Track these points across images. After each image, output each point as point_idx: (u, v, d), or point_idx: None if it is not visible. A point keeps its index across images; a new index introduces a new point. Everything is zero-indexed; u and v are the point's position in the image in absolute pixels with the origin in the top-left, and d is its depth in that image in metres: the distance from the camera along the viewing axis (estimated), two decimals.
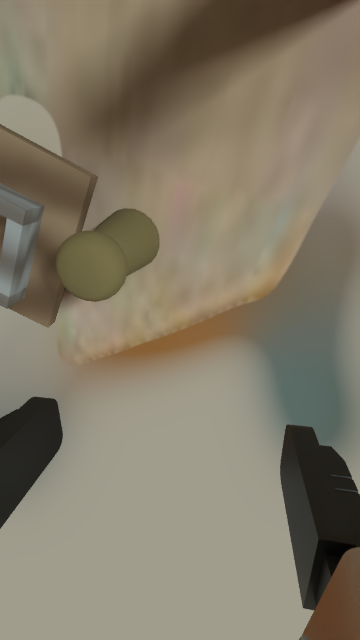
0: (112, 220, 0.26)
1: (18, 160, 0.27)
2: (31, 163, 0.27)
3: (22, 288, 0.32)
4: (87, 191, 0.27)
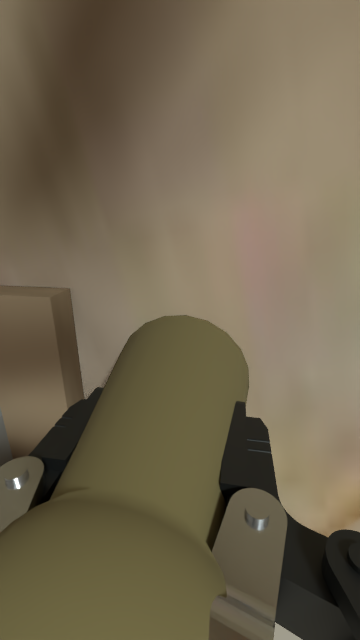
0: (122, 377, 0.09)
1: None
2: None
3: None
4: (57, 327, 0.12)
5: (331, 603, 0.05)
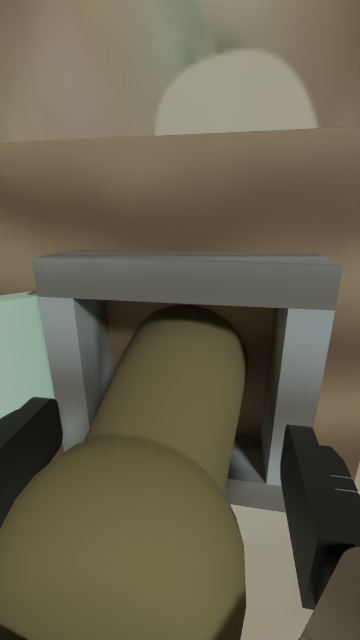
0: (137, 354, 0.11)
1: (243, 182, 0.12)
2: (275, 173, 0.12)
3: None
4: None
5: None
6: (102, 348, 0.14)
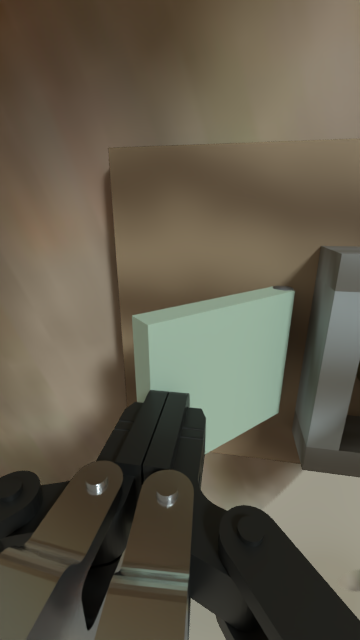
0: None
1: None
2: None
3: None
4: None
5: (219, 569, 0.06)
6: None
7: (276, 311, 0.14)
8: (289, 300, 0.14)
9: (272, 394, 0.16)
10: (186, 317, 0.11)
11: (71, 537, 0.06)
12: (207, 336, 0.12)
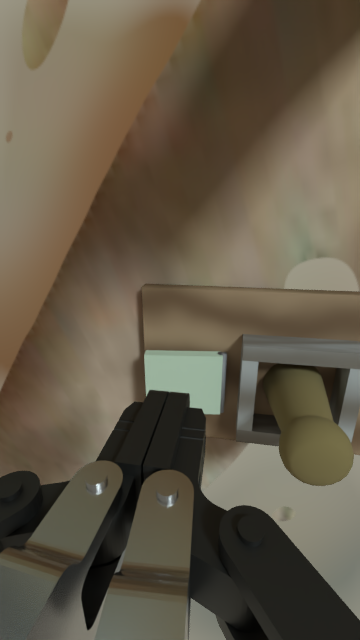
0: (288, 386, 0.27)
1: (327, 312, 0.28)
2: (342, 309, 0.28)
3: None
4: None
5: (219, 569, 0.06)
6: None
7: (210, 363, 0.30)
8: (219, 360, 0.30)
9: (213, 402, 0.32)
10: (159, 355, 0.30)
11: (71, 537, 0.06)
12: (169, 364, 0.30)
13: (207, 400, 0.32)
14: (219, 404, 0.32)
